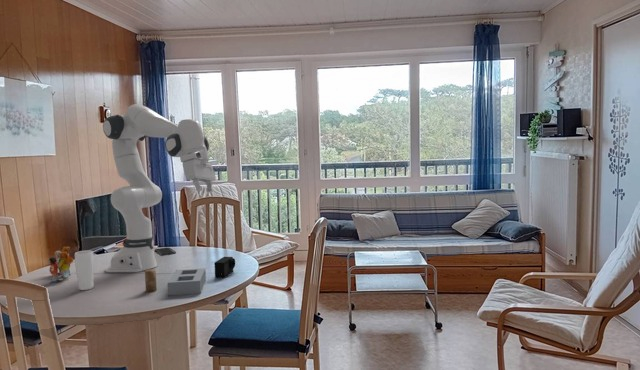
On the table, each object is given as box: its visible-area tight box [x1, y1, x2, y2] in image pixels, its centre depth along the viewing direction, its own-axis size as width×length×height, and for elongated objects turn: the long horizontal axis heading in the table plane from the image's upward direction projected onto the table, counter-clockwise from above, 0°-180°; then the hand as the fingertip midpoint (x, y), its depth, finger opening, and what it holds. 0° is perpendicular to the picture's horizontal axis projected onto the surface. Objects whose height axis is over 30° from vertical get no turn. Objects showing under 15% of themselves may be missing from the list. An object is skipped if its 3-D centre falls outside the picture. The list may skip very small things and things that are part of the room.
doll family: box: [48, 246, 75, 285], centre depth 197 cm, size 21×10×13 cm, turn 22°
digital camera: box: [213, 256, 236, 279], centre depth 196 cm, size 10×5×7 cm, turn 169°
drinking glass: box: [74, 249, 95, 291], centre depth 180 cm, size 7×7×15 cm
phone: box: [154, 247, 177, 257], centre depth 243 cm, size 8×1×15 cm
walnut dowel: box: [144, 268, 158, 293], centre depth 176 cm, size 4×4×8 cm
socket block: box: [167, 267, 207, 296], centre depth 179 cm, size 12×18×5 cm, turn 8°
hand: (204, 191), depth 176 cm, fingers open, 8 cm apart
